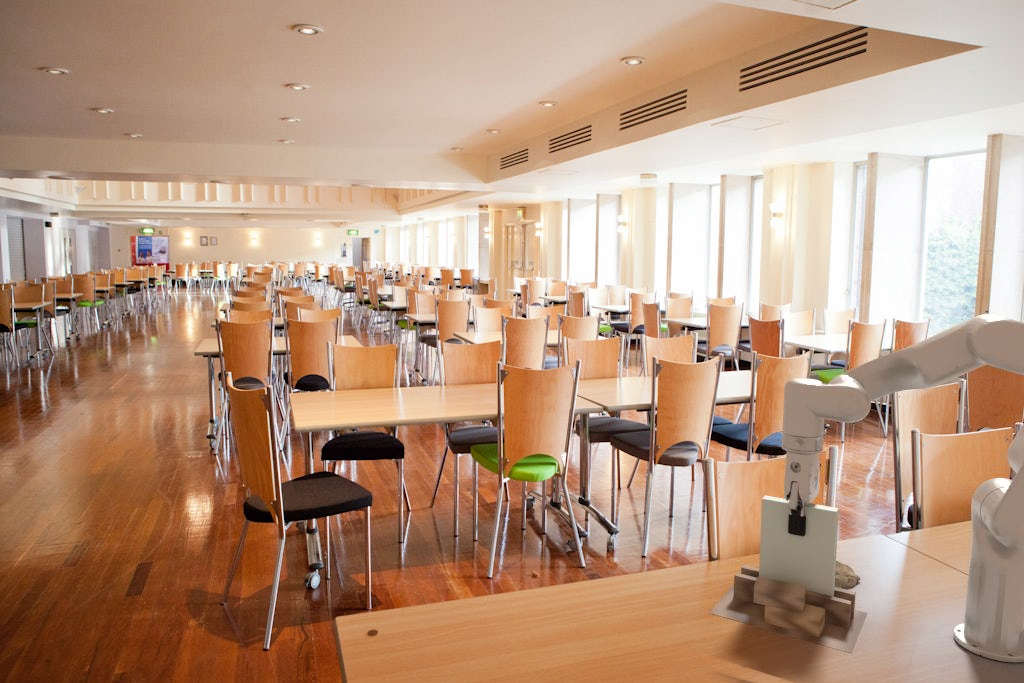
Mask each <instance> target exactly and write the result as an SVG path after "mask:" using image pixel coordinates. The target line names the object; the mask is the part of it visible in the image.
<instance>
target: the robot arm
mask: <svg viewBox="0 0 1024 683" xmlns="http://www.w3.org/2000/svg"><path fill="white" fill-rule="evenodd" d="M986 365H987V366H990V367H994V368H996V369H1001V370H1004V371H1006V372H1007V371H1008V372H1011V373H1015V374H1018V375H1023V376H1024V322H1023V321H1022V322H1021V321H1019V320H1014V319H1012V318H1008V317H1005V316H1002V315H999V314H992V313H991V314H990V313H985V314H980V315H979V314H978V315H977V316H974V317H971V318H970V319H967V320H964V321H962V322H961V323H960V322H959V323H958V324H955V325H954V326H951V327H949V328H947V329H945V330H943V331H940V332H939V333H936V334H934V335H932V336H929V337H928V338H925V339H923V340H921V341H918V342H916V343H913V344H912V345H910V346H907V347H904V348H901V349H898V350H896V351H894V352H891V353H889V354H885V355H883V356H880V357H877V358H874V359H872V360H869V361H867V362H864V363H862V364H860V365H858V366H856V367H854V368H852V369H849V370H847V371H844V372H842V373H841V374H838V375H835V377H834V378H832V379H831V380H829V381H828V383H827V384H824V382H822V381H821V380H818V379H814V378H805V377H804V378H802V377H801V378H800V377H799V378H798V377H797V378H791V379H789V380H787V381H786V382H785V384H784V389H783V414H782V433H781V434H782V436H781V438H782V439H781V449H782V450H785V451H786V454H785V455H786V456H785V457H786V458H785V467H784V477H783V478H784V480H783V482H784V483H783V496H784V498H783V499H786V500H787V501H788V500H790V501H789V518H788V533H789V534H793V535H798V536H805V533H806V516H804V515H805V503H806V504H810V503H812V502H814V501H815V499H816V497H818V495H819V493H820V487H821V486H820V480H821V479H820V478H821V477H820V476H821V475H820V473H821V472H820V465H821V464H820V462H821V461H820V454H822V453H823V451H824V432H825V431H824V430H825V420H830V421H835V422H839V423H845V424H847V423H848V424H849V423H850V424H851V423H857V422H860V421H862V420H863V419H865V418H866V417H867V416H868V414H869V413H870V411H871V406H872V402H873V401H875V400H878V399H880V398H881V399H882V398H883V397H885V396H888V395H891V394H894V393H898V392H902V391H903V392H904V391H910V390H914V391H916V390H927V389H931V388H935V387H939V386H941V385H943V384H945V383H947V382H949V381H952V380H954V379H956V378H959V377H961V376H963V375H965V374H967V373H970V372H972V371H974V370H977V369H979V368H981V367H984V366H986ZM1021 425H1022V426H1020V428H1019V430H1018V432H1017V433H1016V435H1015V436H1014V438H1013V439H1012V441H1011V443H1010V444H1009V446H1008V448H1007V452H1006V458H1007V463H1008V465H1009V466H1010V468H1011V469H1012V471H1013V472H1015V476H1014V477H1013V479H1010V478H1006V477H994V478H990V479H987V480H985V481H983V482H982V483H981V484H979V486H978V487H977V488H976V489H975V491H974V492H973V496H972V498H971V507H970V508H971V509H970V510H971V512H970V514H971V540H970V541H971V543H970V544H971V545H970V554H969V555H970V556H969V565H968V575H967V576H968V578H967V586H966V598H965V607H964V620H963V623H960V624H958V625H956V626H955V627H954V628H953V634H952V635H953V638H954V639H955V641H956V642H957V643H958V644H959V645H960V646H961V647H963V648H964V649H966V650H967V651H969V652H971V653H972V654H975V655H978V656H980V655H981V657H983V658H986V659H990V660H994V661H998V662H1004V663H1024V423H1022V424H1021ZM798 504H800V505H801V507H800V506H798Z"/></svg>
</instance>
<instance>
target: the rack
mask: <svg viewBox="0 0 1024 683" xmlns="http://www.w3.org/2000/svg"><path fill="white" fill-rule="evenodd" d="M757 577H759V567H758V568H757V567H754V566H750V565H745V564H743V565H742V566H741V569H740V573H739V572H736V573H735V574H734V577H733V578H734V580H733V584H732V586H730V588H729V589H728V590H727V591H726V592H725V594H724V595H723V596H722V597H721V599H720V600H719V601H718V602H717V603H716V604H715V606H714V607H713V608H712V609H711V610H710V611H709V614H711V615H714V616H718V617H720V618H721V617H722V618H724V619H727V620H732V621H736V622H738V623H739V622H740V623H742V624H747V625H749V626H753V627H755V628H756V627H757V628H760V629H763V630H767V631H771V632H775V633H778V634H782V635H785V636H789V637H792V638H796V639H799V640H802V641H806V642H810V643H814V644H817V645H820V646H823V647H826V648H830V649H834V650H837V651H841V652H844V653H848V654H852V652H853V651H854V650H853V649H854V648H855V645H856V644H857V640H858V638H859V635H860V632H861V631H862V630H861V629H862V628H863V625H864V622H865V620H866V619H867V615H868V612H865V611H861V610H857V609H855V608H856V591H853V590H848V589H846V588H837V587H835V588H834V597H832V596H828V595H824V594H820V593H816V592H812V591H808V590H806V592H805V604H808V605H812V606H816V607H820V608H824V609H826V610H825V625H824V628H823V630H822V632H821V634H820V636H819V637H816V636H812V635H809V634H805V633H801V632H798V631H794V630H791V629H787V628H783V627H780V626H776V625H773V624H769V623H766V622H764V616H765V605H763V604H758V603H753V601H754V585H755V582H756V579H757Z"/></svg>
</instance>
